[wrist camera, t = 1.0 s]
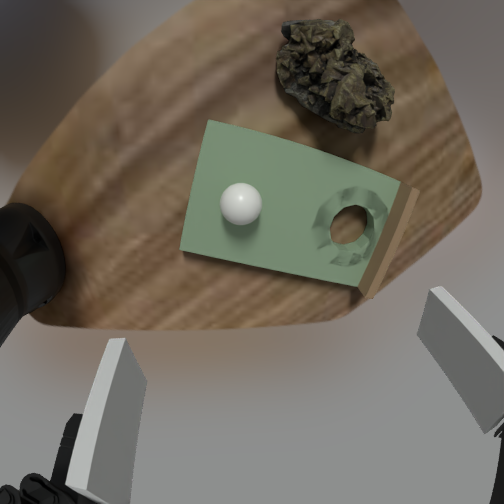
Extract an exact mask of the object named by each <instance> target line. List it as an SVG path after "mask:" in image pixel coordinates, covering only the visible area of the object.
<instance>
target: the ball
mask: <svg viewBox="0 0 504 504" xmlns="http://www.w3.org/2000/svg"><path fill="white" fill-rule="evenodd" d="M261 209H262V199H261V196H260V194H259V192H258V191H257V190H256V189H255V188H254V187H253V186H251V185H249V184H246V183H236V184H233V185H231V186H229V187H228V188H227V189H226V190H225V191H224V192H223V194H222V196H221V198H220V210H221V213H222V215H223V216H224V217H225V219H226V220H228V221H229V222H231V223H233V224H236V225H246V224H249V223H251V222H253V221H254V220H255V219H256V218H257V217H258V216H259V214H260V212H261Z"/></svg>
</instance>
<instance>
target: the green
mask: <svg viewBox="0 0 504 504" xmlns="http://www.w3.org/2000/svg"><path fill="white" fill-rule="evenodd" d="M236 183H246V184H249V185H251V186H253V187H254V188H255V189H256V190H257V191H258V192H259V194H260V196H261V199H262V209H261V212H260V214H259V216H258V217H257V218H256V219H255V220H254V221H253V222H251V223H249V224H246V225H236V224H233V223H231V222H229V221H228V220H226V219H225V217H224V216H223V215H222V213H221V210H220V198H221V196H222V194H223V192H224V191H225V190H226V189H227V188H228V187H229V186H231V185H233V184H236ZM419 192H420V191H419V190H417V189H415V188H413V187H411V186H409V185H406V184H404V183H402V182H400V181H397V180H395V179H393V178H391V177H388V176H386V175H383V174H381V173H379V172H376V171H374V170H371V169H369V168H366V167H364V166H361V165H359V164H356V163H353V162H351V161H348V160H345V159H343V158H340V157H337V156H334V155H332V154H329V153H326V152H323V151H320V150H317V149H314V148H311V147H308V146H305V145H302V144H299V143H296V142H292V141H289V140H286V139H282V138H279V137H276V136H272V135H269V134H265V133H261V132H258V131H254V130H250V129H246V128H242V127H238V126H234V125H230V124H226V123H222V122H217V121H213V120H208V123H207V127H206V131H205V134H204V138H203V142H202V146H201V150H200V154H199V158H198V163H197V167H196V171H195V175H194V180H193V184H192V189H191V193H190V198H189V203H188V207H187V212H186V217H185V222H184V227H183V233H182V238H181V243H180V249H179V250H183V251H187V252H192V253H196V254H201V255H206V256H210V257H215V258H220V259H224V260H229V261H234V262H238V263H243V264H248V265H253V266H257V267H262V268H267V269H272V270H277V271H281V272H286V273H291V274H296V275H301V276H306V277H311V278H316V279H321V280H325V281H330V282H335V283H340V284H345V285H351V286H356V287H358V288H359V290H360V291H361V293H362V294H363V296H364V297H365V298H369V299H373V297H374V295H375V294H376V292H377V290H378V288H379V286H380V284H381V282H382V279H383V277H384V275H385V273H386V271H387V269H388V267H389V265H390V263H391V261H392V258H393V256H394V254H395V252H396V249H397V247H398V245H399V243H400V240H401V238H402V236H403V233H404V231H405V228H406V226H407V224H408V221H409V219H410V216H411V213H412V211H413V208H414V206H415V203H416V200H417V198H418V195H419ZM355 204H356V205H359V206H362V207H363V208H364V209H365V211H366V213H367V225H366V228H365V230H364V233H363V234H362V235H361V236H360V237H359V238H358V239H357V240H356V241H355V242H352V243H348V244H344V245H343V244H339V243H335V242H333V241H332V240H331V235H330V226H331V223H332V221H333V218H334V216H335V215H336V214H337V213H338V212H339V211H340V210H342V209H343V208H344V207H347V206H351V205H355Z"/></svg>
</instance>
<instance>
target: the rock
mask: <svg viewBox="0 0 504 504" xmlns="http://www.w3.org/2000/svg"><path fill="white" fill-rule="evenodd" d="M281 32H282V34H283V36H284V37H285V38H287V39H288V40H289V43H288V44H287V45H285V46H282V50H281V51H280V52H279V51H277V57H276V61H277V75H278V77H279V80H280V82H281V84H282V85H283V87H284V90H285V92H286V93H287V94H289V95H292V96H294V97H296V98H297V100H298V102H299V103H300V104H301V105H302V106H303V107H306V108H308V109H309V110H311V111H312V112H314V113H316V114H318V115H319V116H321V117H322V118H324V119H326V120H328V121H330V122H332V123H335V124H337V126H338V127H339V128H343V129H347V130H349V131H350V132H353V133H363V132H364V130H365V128H374V127H375V126H376V122H379V121H389V120H390V118H391V115H392V110H391V107H390V106H391V104H393V103H394V97H393V96H394V93H395V89H394V88H393V87H392V86H391V84H390V82H387V81H386V80H385V78H384V76H383V75H382V74H381V72H380V70H379V67H378V65H377V64H376V63H374V62H372V60H371V59H369V58H367V57H366V55H365V54H361V53H357V50H356V49H354V48H353V45H352V43H353V41H355V38H354V34H353V30H352V28H351V27H350V25H349V23H348V22H345V21H343V20H342V19H338V21H331V20H324V21H323V20H321V19H316V20H296V21H287V22H283V24H282V30H281ZM353 49H354V50H353Z"/></svg>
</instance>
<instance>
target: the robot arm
mask: <svg viewBox="0 0 504 504" xmlns="http://www.w3.org/2000/svg"><path fill="white" fill-rule="evenodd" d="M64 278H65V260H64V255H63V251H62V247H61V245H60V242H59V240H58V238H57V235H56V234H55V232H54V230H53V228H52V227H51V225H50V224H49V223H48V221H47V220H46V219H45V218H44V217H43V216H42V215H41V214H40V213H39V212H38V211H36V210H35V209H34V208H32V207H30V206H28V205H26V204H23V203H10V204H8V205H6V206H4V207H2V208H0V347H1V345H2V344H3V343H4V341H5V340H6V338H7V337H8V335H9V334H10V333H11V331H12V330H13V328H14V327H15V326H16V324H17V323H18V321H19V320H20V319H21V318H22V317H23V316H24V315H26V314H28V313H30V312H32V311H34V310H36V309H37V308H39V307H42V306H44V305H46V304H48V303H49V302H50V301H51V300H52V299H53V298H54V297H55V295H56V294H57V293H58V292H59V290H60V289H61V287H62V285H63V282H64ZM417 336H418V337H419V338H420V340H421V341H422V342H423V344H424V345H425V346H426V348H427V349H428V351H429V352H430V353H431V355H432V356H433V357H434V359H435V360H436V361H437V363H438V364H439V366H440V367H441V369H442V370H443V371H444V373H445V374H446V376H447V377H448V378H449V380H450V381H451V383H452V384H453V386H454V387H455V389H456V390H457V392H458V393H459V395H460V396H461V398H462V399H463V401H464V402H465V404H466V405H467V407H468V409H469V410H470V412H471V413H472V415H473V417H474V418H475V420H476V421H477V423H478V425H479V426H480V428H481V430H482V431H483V433H484V434H485V433H487V432H488V431H490V430H491V429H493V428H494V427H495V426H497V424H498V423H499V422H500V421H501V420H502V419H503V417H504V342H503V341H502V340H500V339H498V338H497V337H495V336H492V337H491V336H490V335H489V334H488V333H487V331H486V330H485V329H484V328H483V327H482V326H481V325H480V324H479V323H478V322H477V321H476V320H475V319H474V318H473V317H472V316H471V315H470V314H469V313H468V312H467V311H466V310H465V308H463V307H462V305H461V304H459V303H458V302H457V301H456V300H455V299H454V298H453V297H452V296H451V295H450V294H449V293H448V292H447V291H446V290H445V289H444V288H443V287H442V286H439V287H435V288H432V289H429V293H428V297H427V301H426V304H425V308H424V312H423V315H422V319H421V322H420V326H419V329H418V332H417ZM146 385H147V380H146V378H145V376H144V374H143V372H142V370H141V368H140V367H139V364H138V363H137V360H136V359H135V357H134V354H133V352H132V350H131V348H130V346H129V344H128V342H127V340H126V338H117V339H116V338H115V339H109V342H108V344H107V347H106V349H105V352H104V355H103V357H102V360H101V363H100V365H99V368H98V371H97V374H96V377H95V380H94V382H93V385H92V389H91V392H90V394H89V397H88V401H87V404H86V407H85V410H84V413H83V414H75V413H74V414H73V416H72V417H71V418H70V419H69V421H68V422H67V423H66V427H65V430H64V433H63V438H62V439H61V443H60V445H61V446H60V447H59V450H58V454H57V457H56V461H55V465H54V469H53V473H52V477H51V480H50V481H48V480H47V479H46V478H44V477H43V476H41V475H40V474H36V473H31V474H28V475H26V476H25V477H24V478H23V479H22V481H21V483H20V491H19V490H17V489H16V488H14V487H13V486H11V485H4V486H2V487H1V488H0V504H130V498H131V487H132V478H133V469H134V461H135V453H136V446H137V438H138V432H139V426H140V419H141V413H142V407H143V401H144V396H145V391H146ZM501 431H502V433H501V434H500V435H499V437H500V438H501V439H502V440H501V448H500V455H499V461H498V467H497V473H496V478H495V483H494V488H493V492H492V496H491V500H490V504H504V423H503V424H502V425H501V426H500V427H499V428H498V429H497V431H496V432H495V434H494V437H496V436H497V435H498V434H499V433H500V432H501Z"/></svg>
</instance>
